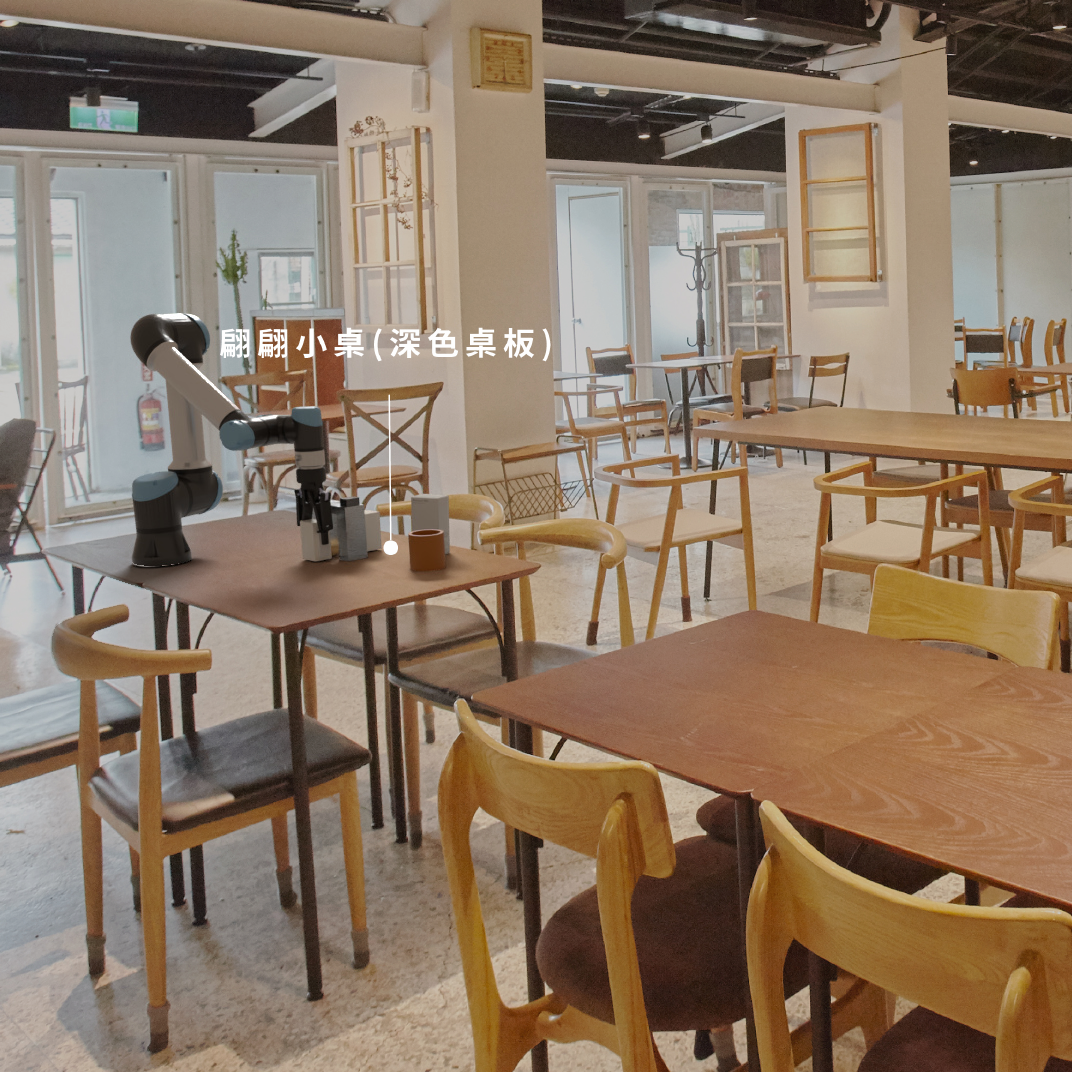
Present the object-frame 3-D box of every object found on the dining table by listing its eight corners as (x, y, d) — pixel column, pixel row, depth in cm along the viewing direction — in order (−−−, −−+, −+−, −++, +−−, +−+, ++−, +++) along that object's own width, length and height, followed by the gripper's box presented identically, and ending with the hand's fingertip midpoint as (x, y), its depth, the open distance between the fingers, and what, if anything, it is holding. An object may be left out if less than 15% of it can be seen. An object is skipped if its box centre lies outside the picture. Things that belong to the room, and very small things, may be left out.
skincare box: (412, 556, 317) (408, 497, 314) (423, 551, 323) (420, 493, 320) (440, 557, 313) (437, 497, 311) (452, 552, 319) (449, 493, 317)
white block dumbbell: (302, 558, 317) (299, 521, 315) (368, 546, 331) (366, 509, 329) (315, 561, 312) (312, 523, 311) (381, 548, 326) (379, 511, 325)
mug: (456, 562, 307) (454, 527, 305) (437, 572, 296) (435, 536, 294) (423, 560, 310) (421, 525, 308) (403, 571, 298) (402, 535, 297)
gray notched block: (313, 554, 325) (308, 494, 322) (332, 550, 329) (327, 492, 326) (348, 561, 313) (344, 500, 310) (367, 557, 317) (363, 496, 314)
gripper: (278, 466, 316) (285, 553, 320) (318, 471, 303) (325, 562, 307) (302, 463, 321) (309, 548, 325) (343, 467, 308) (349, 557, 312)
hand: (316, 555), depth 316 cm, fingers closed on white block dumbbell, 6 cm apart
